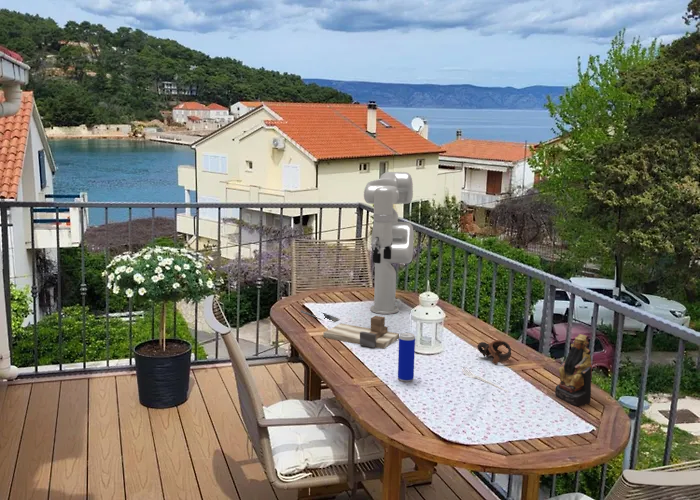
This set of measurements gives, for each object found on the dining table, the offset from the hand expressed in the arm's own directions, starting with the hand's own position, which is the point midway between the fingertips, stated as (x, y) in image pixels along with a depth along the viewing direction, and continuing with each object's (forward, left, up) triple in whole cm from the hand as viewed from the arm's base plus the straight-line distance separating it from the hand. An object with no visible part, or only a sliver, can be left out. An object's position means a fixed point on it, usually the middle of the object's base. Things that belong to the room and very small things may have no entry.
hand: (382, 260), depth 254 cm
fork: (+34, +54, -29) cm, 70 cm away
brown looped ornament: (+12, +51, -29) cm, 60 cm away
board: (+15, -1, -28) cm, 32 cm away
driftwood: (-2, -30, -29) cm, 42 cm away
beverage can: (+45, +31, -28) cm, 62 cm away
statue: (+34, +82, -28) cm, 93 cm away
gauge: (+16, +6, -28) cm, 33 cm away
